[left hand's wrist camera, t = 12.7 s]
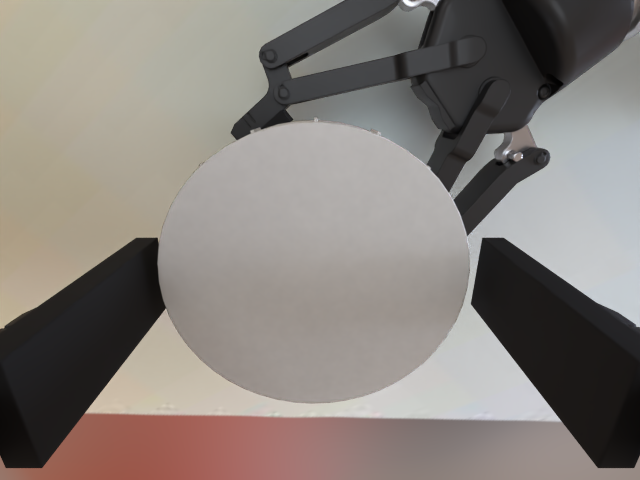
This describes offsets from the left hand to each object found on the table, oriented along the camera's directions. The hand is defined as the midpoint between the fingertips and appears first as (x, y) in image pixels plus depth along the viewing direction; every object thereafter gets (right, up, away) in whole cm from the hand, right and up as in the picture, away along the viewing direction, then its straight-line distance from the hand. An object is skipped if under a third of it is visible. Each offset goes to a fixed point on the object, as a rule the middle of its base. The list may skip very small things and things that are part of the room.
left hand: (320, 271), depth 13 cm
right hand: (-4, +1, +10) cm, 11 cm away
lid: (0, 0, -1) cm, 1 cm away
